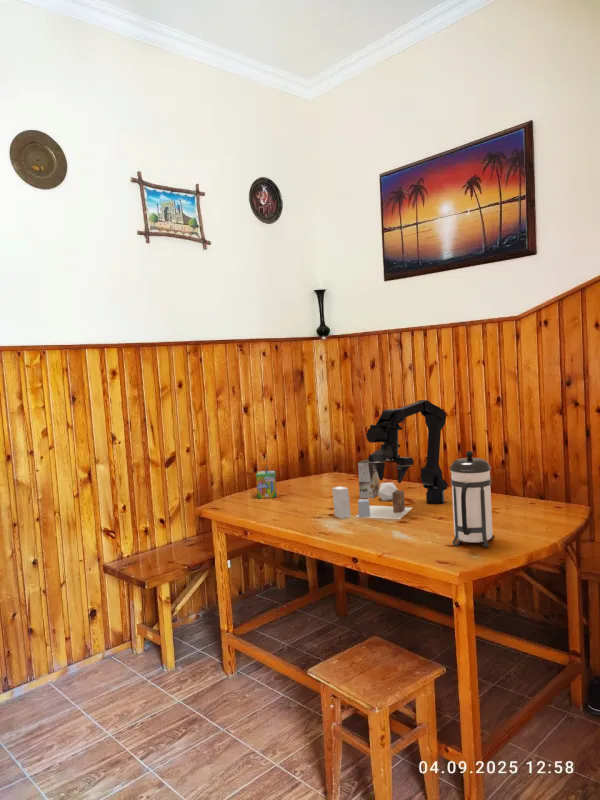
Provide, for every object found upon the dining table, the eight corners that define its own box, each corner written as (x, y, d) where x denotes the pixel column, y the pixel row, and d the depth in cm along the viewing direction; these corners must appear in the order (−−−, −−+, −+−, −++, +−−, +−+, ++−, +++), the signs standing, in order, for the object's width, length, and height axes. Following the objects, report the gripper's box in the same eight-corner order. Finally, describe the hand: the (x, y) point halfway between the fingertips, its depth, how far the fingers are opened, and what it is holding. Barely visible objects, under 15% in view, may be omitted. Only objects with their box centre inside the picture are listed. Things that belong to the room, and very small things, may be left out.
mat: (412, 509, 243) (412, 507, 243) (399, 520, 227) (399, 519, 227) (370, 506, 251) (370, 505, 251) (355, 518, 235) (355, 516, 235)
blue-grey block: (370, 514, 238) (369, 499, 237) (369, 516, 234) (368, 501, 233) (359, 514, 238) (359, 499, 238) (358, 516, 234) (358, 501, 234)
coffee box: (372, 498, 266) (370, 462, 265) (359, 498, 269) (357, 462, 268) (379, 494, 274) (377, 459, 273) (366, 493, 277) (364, 459, 276)
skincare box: (351, 518, 235) (349, 488, 234) (341, 520, 233) (339, 489, 232) (343, 515, 240) (341, 485, 239) (333, 517, 238) (331, 487, 238)
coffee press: (439, 539, 201) (434, 450, 200) (482, 533, 205) (478, 446, 203) (464, 554, 185) (460, 457, 183) (511, 547, 188) (507, 452, 186)
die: (393, 505, 254) (403, 485, 257) (375, 495, 256) (384, 475, 258) (390, 507, 262) (400, 488, 265) (373, 498, 263) (382, 479, 266)
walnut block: (404, 510, 240) (403, 490, 240) (401, 513, 236) (400, 493, 235) (397, 509, 242) (396, 490, 241) (393, 512, 237) (392, 492, 237)
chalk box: (257, 494, 289) (255, 464, 288) (276, 493, 289) (274, 463, 288) (257, 499, 280) (254, 467, 279) (276, 497, 280) (274, 466, 279)
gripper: (358, 441, 236) (358, 480, 237) (396, 444, 222) (395, 486, 223) (377, 439, 244) (377, 478, 244) (414, 443, 230) (414, 483, 230)
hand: (390, 481), depth 235 cm, fingers open, 9 cm apart
